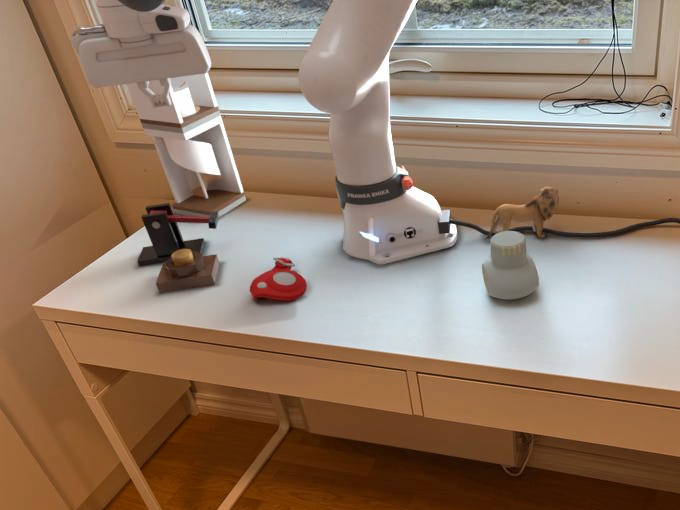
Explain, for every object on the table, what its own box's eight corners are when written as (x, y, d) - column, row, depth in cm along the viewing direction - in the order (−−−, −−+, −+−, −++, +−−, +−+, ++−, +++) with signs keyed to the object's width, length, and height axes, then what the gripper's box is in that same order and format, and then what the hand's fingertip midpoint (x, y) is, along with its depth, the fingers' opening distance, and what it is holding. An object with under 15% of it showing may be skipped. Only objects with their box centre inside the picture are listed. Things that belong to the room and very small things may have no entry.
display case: (175, 213, 155) (112, 46, 134) (208, 193, 163) (154, 32, 141) (213, 220, 151) (155, 49, 129) (246, 200, 158) (196, 34, 137)
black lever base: (205, 243, 143) (189, 198, 137) (201, 257, 138) (185, 211, 132) (145, 252, 142) (126, 207, 136) (139, 266, 137) (119, 221, 131)
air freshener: (542, 303, 116) (540, 250, 110) (493, 311, 115) (489, 258, 109) (526, 270, 125) (524, 220, 119) (481, 278, 124) (477, 227, 118)
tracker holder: (316, 288, 123) (260, 296, 118) (314, 307, 126) (259, 316, 121) (291, 248, 130) (237, 254, 124) (289, 267, 133) (236, 274, 127)
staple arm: (219, 220, 140) (217, 208, 138) (216, 231, 136) (215, 219, 135) (154, 218, 137) (152, 206, 136) (149, 229, 133) (147, 218, 132)
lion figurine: (554, 223, 138) (554, 180, 133) (563, 235, 134) (563, 191, 129) (482, 235, 136) (479, 192, 131) (489, 248, 132) (485, 204, 127)
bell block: (220, 264, 135) (213, 245, 133) (215, 285, 129) (208, 266, 127) (167, 272, 134) (159, 253, 132) (159, 293, 128) (151, 274, 126)
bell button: (195, 255, 131) (192, 247, 130) (192, 265, 128) (189, 256, 127) (176, 258, 131) (172, 250, 130) (172, 268, 128) (169, 259, 127)
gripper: (60, 33, 111) (97, 120, 119) (192, 16, 113) (218, 103, 121) (71, 24, 116) (105, 108, 124) (197, 9, 118) (222, 92, 126)
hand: (162, 105), depth 123 cm, fingers closed
